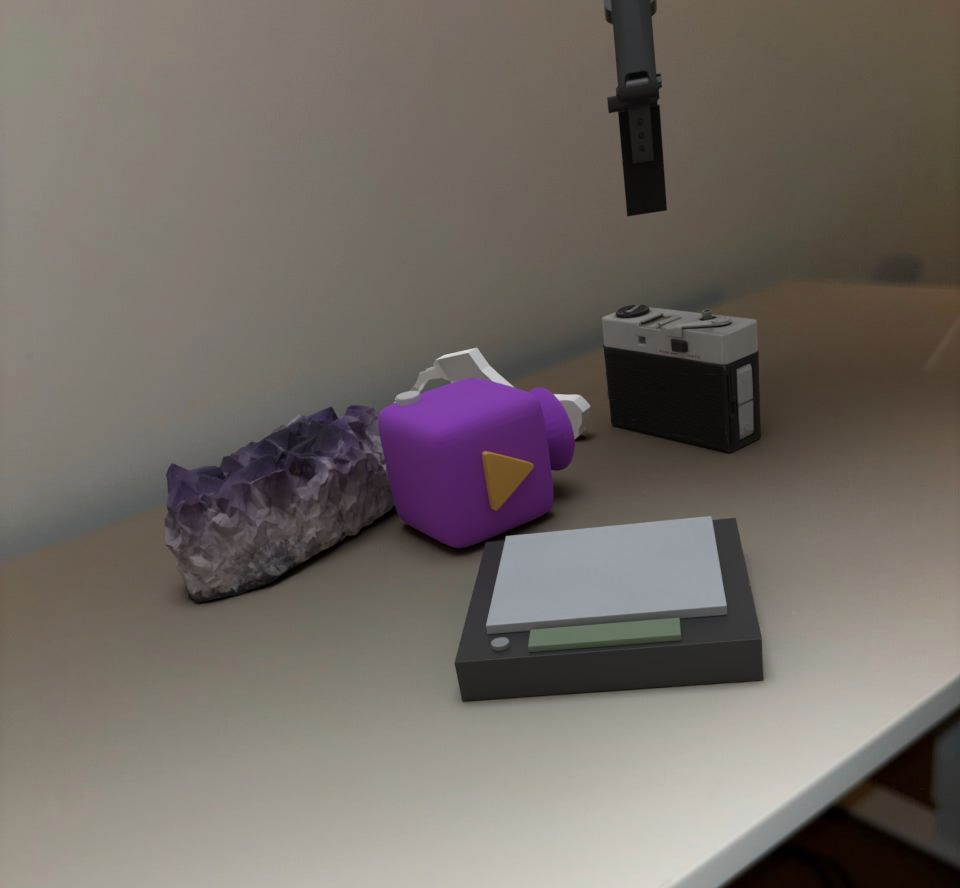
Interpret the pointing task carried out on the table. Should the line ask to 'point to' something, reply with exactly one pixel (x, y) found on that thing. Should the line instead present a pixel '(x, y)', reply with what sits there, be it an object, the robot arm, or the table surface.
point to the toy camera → (474, 457)
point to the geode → (276, 502)
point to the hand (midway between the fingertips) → (645, 198)
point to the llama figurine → (477, 367)
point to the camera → (683, 375)
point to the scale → (610, 611)
